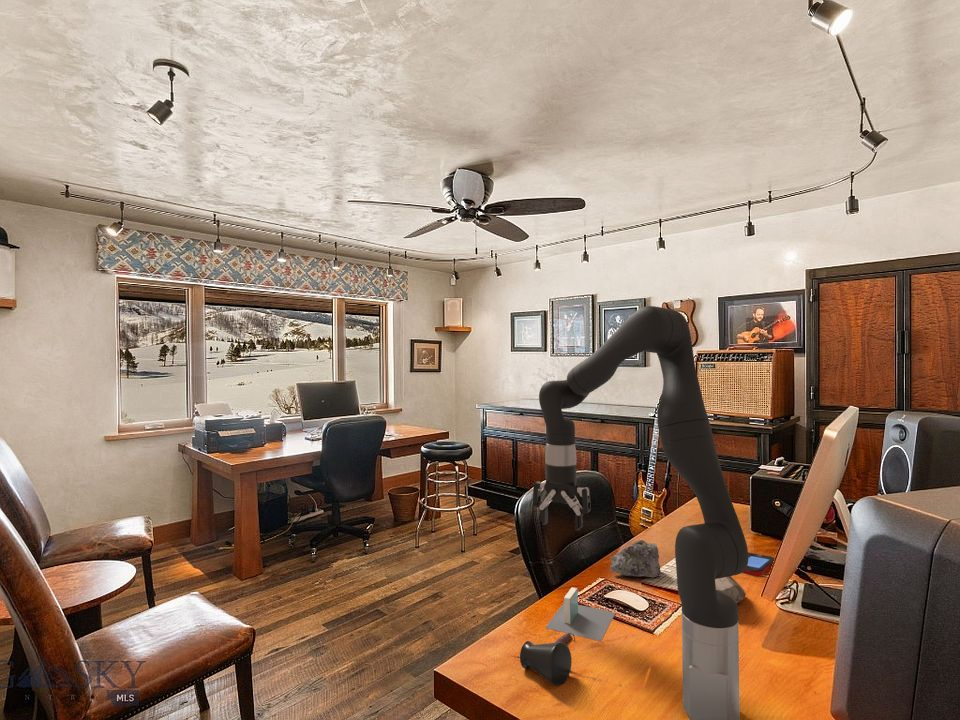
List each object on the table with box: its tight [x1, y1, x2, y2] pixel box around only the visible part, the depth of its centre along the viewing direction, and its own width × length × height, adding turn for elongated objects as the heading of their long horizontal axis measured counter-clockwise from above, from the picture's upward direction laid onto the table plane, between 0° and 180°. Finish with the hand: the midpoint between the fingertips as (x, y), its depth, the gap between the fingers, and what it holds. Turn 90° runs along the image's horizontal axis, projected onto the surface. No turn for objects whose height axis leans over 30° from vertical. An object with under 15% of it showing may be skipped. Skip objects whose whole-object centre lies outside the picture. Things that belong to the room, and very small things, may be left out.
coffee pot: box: [519, 633, 576, 687], centre depth 108 cm, size 8×18×8 cm
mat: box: [545, 602, 616, 642], centre depth 124 cm, size 14×13×1 cm
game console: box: [741, 551, 776, 577], centre depth 156 cm, size 14×13×2 cm
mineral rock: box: [609, 539, 662, 578], centre depth 150 cm, size 13×11×10 cm
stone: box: [715, 576, 747, 604], centre depth 131 cm, size 15×9×10 cm
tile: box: [563, 586, 579, 624], centre depth 125 cm, size 6×2×6 cm, turn 152°
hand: (561, 526), depth 128 cm, fingers open, 8 cm apart
